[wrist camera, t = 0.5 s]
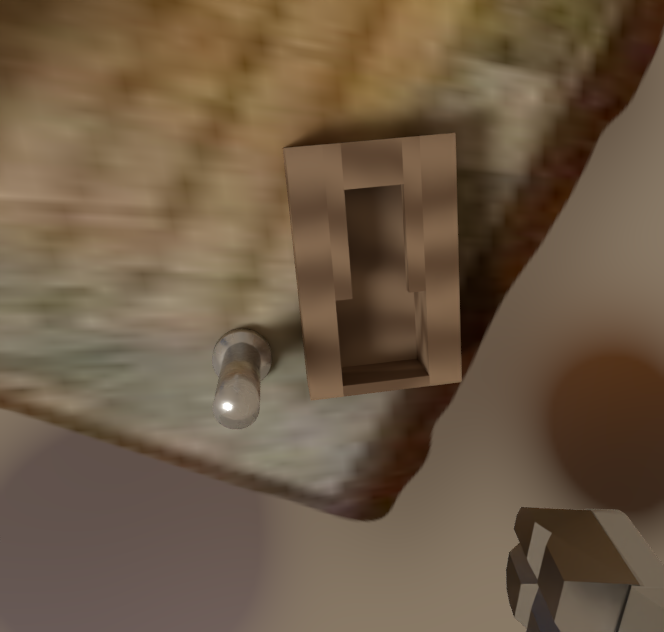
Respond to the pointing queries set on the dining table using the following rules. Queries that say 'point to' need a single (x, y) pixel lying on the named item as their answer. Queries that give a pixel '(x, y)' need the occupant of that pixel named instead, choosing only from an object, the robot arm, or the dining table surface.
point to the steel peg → (239, 376)
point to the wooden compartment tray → (376, 263)
